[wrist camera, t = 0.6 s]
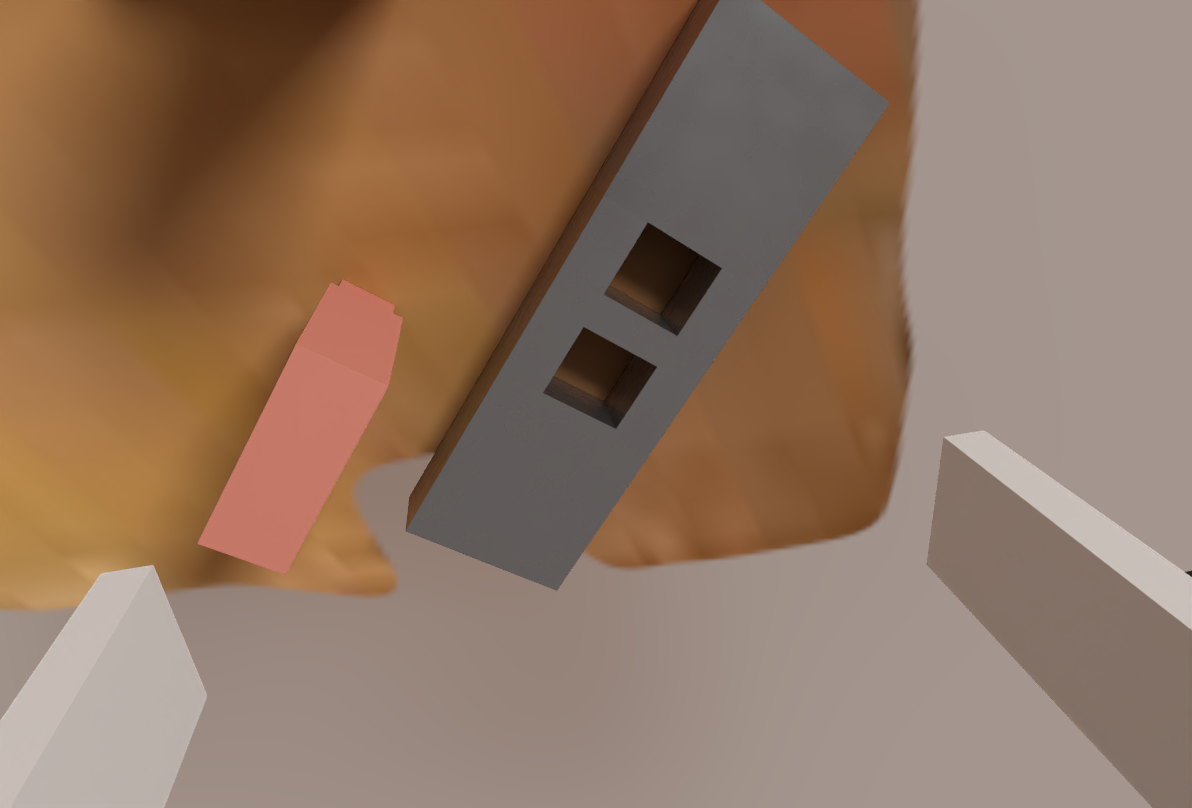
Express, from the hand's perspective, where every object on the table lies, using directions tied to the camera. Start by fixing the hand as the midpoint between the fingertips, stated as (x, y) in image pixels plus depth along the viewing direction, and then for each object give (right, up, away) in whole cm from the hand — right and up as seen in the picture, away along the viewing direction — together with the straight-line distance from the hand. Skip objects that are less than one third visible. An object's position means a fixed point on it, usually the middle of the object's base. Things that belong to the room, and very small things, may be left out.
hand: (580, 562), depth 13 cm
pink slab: (-11, +5, +21) cm, 24 cm away
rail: (+1, +7, +22) cm, 23 cm away
